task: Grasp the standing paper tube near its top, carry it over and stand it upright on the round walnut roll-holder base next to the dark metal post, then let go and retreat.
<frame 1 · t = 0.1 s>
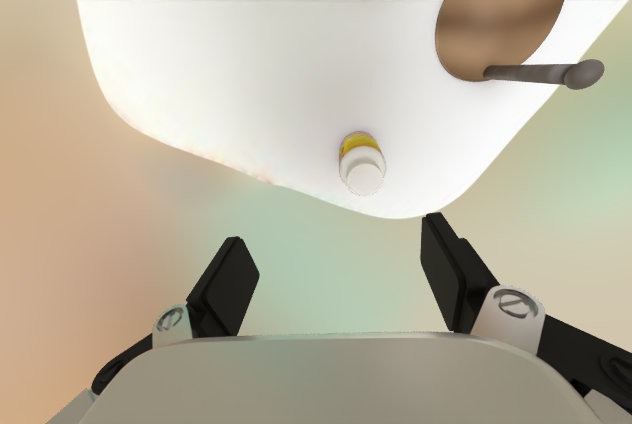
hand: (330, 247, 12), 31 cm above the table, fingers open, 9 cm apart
holder base: (492, 19, 29), on the table
supplement bottle: (358, 149, 40), on the table
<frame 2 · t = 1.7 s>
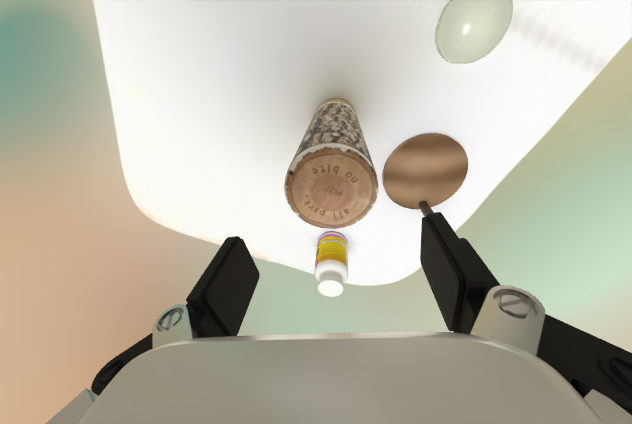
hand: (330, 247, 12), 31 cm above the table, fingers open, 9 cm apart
holder base: (422, 173, 41), on the table
supplement bottle: (332, 241, 52), on the table
sage dish: (468, 26, 29), on the table
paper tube: (335, 120, 37), on the table
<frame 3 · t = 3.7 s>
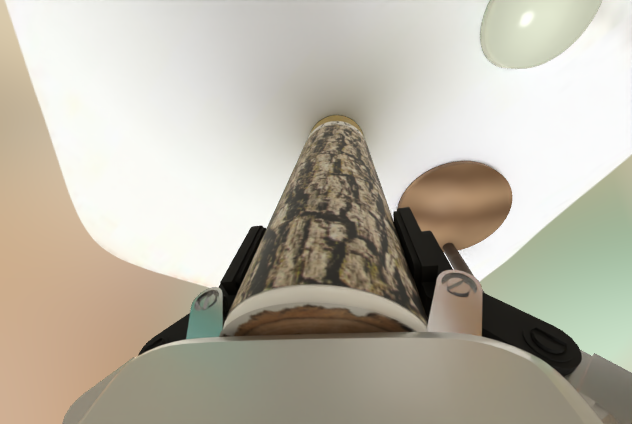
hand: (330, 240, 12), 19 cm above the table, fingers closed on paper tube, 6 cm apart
holder base: (448, 209, 31), on the table
sage dish: (530, 15, 20), on the table
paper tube: (335, 142, 28), on the table, touching gripper
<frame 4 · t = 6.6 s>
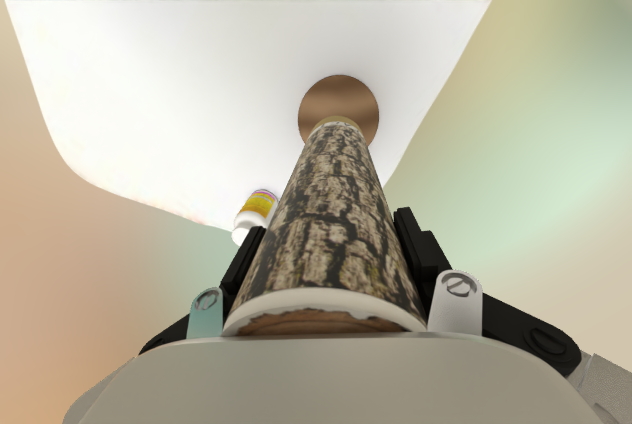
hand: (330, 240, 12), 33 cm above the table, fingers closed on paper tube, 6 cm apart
holder base: (337, 120, 40), on the table
supplement bottle: (264, 201, 51), on the table
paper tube: (336, 143, 28), point 14 cm above the table, touching gripper
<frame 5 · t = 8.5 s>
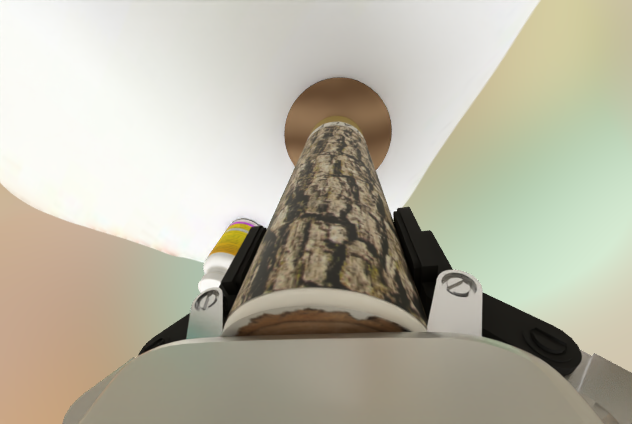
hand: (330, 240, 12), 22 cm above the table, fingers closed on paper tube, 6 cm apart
holder base: (336, 137, 31), on the table
supplement bottle: (247, 232, 42), on the table
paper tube: (336, 143, 28), point 3 cm above the table, touching gripper
when the fingers open (21 cm above the table, at t = 9.6 s): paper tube drops 2 cm, resting on holder base.
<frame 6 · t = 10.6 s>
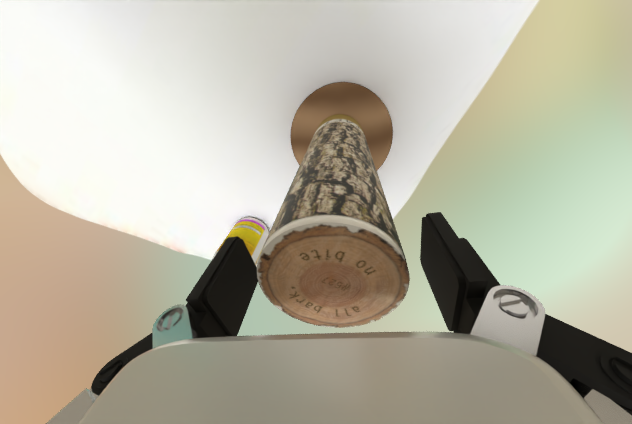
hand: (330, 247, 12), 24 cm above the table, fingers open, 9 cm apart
holder base: (340, 138, 32), on the table
supplement bottle: (253, 229, 43), on the table
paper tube: (339, 139, 31), point 1 cm above the table, touching holder base
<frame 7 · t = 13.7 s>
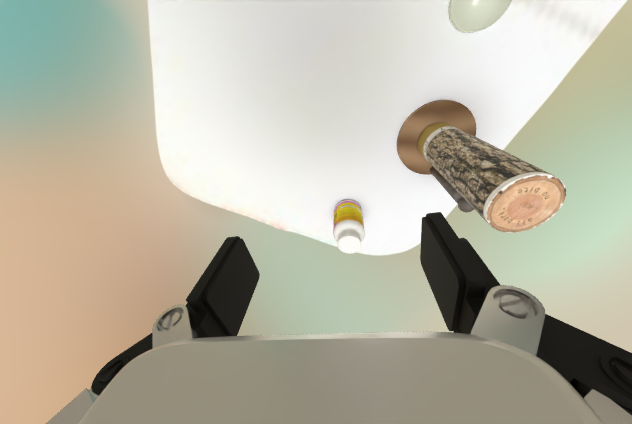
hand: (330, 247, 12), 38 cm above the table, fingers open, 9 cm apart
holder base: (433, 139, 45), on the table
supplement bottle: (347, 209, 55), on the table
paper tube: (434, 139, 44), point 1 cm above the table, touching holder base
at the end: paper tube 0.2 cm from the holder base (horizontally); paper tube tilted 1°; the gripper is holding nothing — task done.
